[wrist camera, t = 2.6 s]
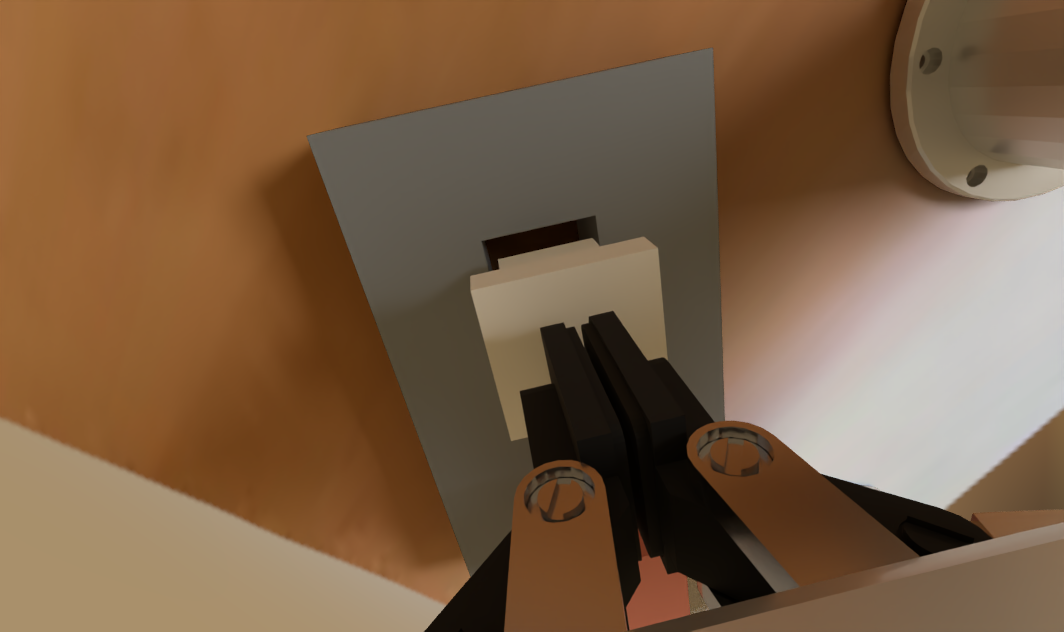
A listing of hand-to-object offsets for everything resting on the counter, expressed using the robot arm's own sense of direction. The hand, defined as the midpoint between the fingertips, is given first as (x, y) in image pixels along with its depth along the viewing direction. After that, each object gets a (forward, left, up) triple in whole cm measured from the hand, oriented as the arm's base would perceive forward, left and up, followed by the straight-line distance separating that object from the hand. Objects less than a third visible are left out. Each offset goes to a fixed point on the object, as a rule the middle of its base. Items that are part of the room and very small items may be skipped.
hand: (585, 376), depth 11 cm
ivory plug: (0, 0, -5) cm, 5 cm away
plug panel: (0, +5, -10) cm, 11 cm away
